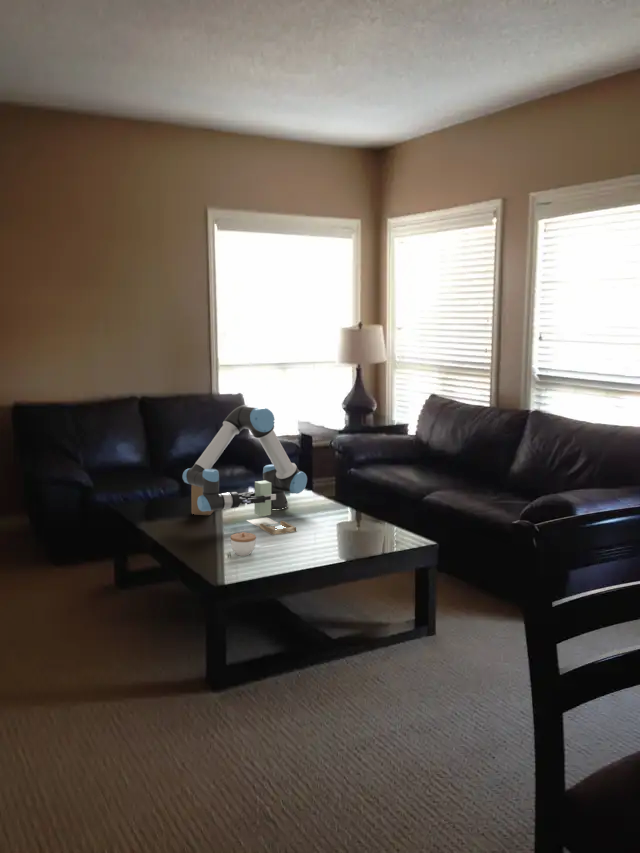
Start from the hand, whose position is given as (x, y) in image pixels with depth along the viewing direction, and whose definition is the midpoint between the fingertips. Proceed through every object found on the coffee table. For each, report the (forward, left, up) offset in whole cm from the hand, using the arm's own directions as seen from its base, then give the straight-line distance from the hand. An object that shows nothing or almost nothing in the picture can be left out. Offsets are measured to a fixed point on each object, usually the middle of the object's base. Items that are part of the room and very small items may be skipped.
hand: (272, 495), depth 368 cm
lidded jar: (+35, +39, -14) cm, 54 cm away
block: (+23, -31, -14) cm, 41 cm away
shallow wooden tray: (+5, +15, -13) cm, 21 cm away
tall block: (+5, 0, -9) cm, 10 cm away
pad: (+5, 0, -13) cm, 14 cm away
